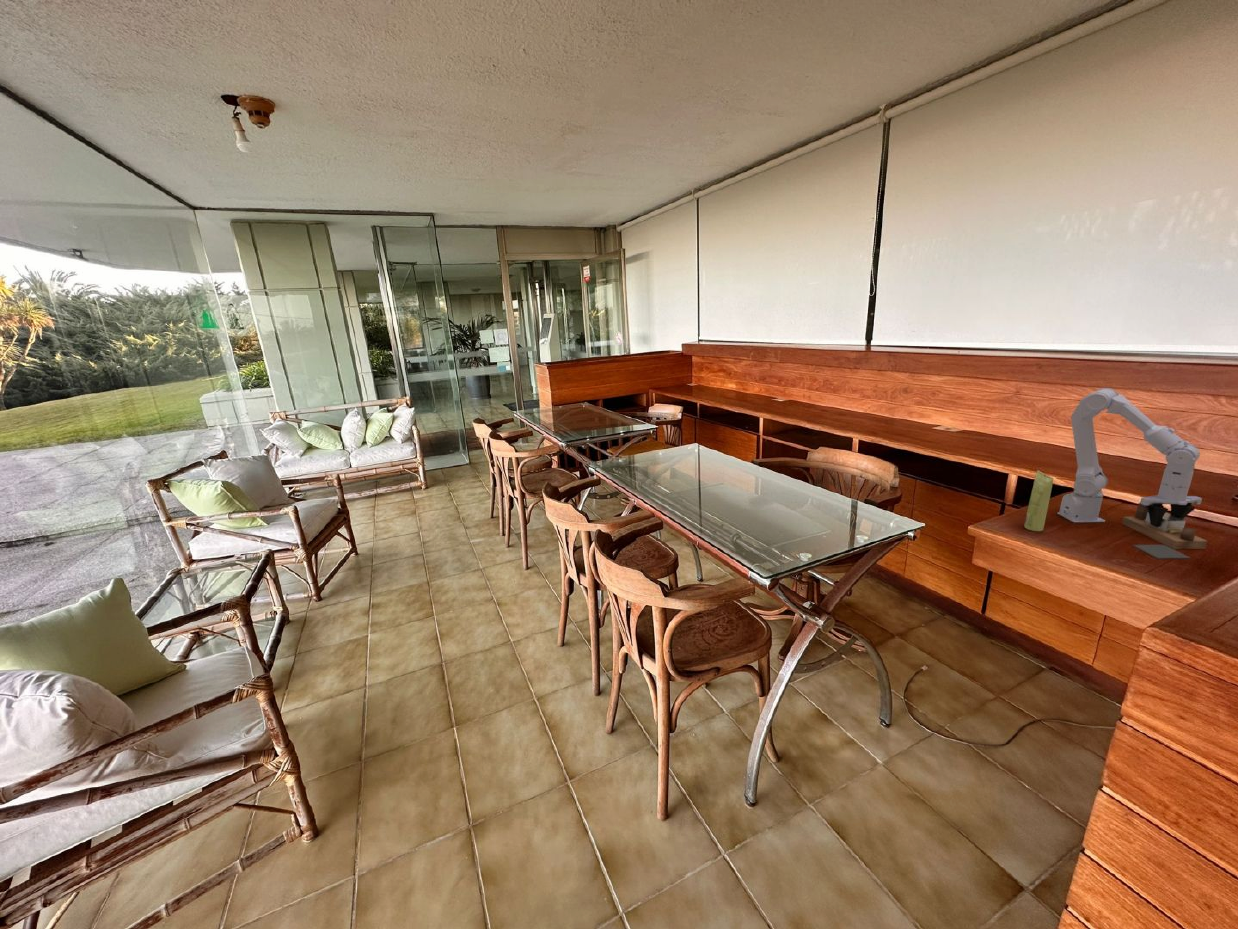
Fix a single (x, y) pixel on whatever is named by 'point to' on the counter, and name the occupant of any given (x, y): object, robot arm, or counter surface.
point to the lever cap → (1167, 523)
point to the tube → (1039, 502)
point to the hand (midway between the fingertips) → (1163, 525)
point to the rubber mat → (1161, 552)
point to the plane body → (1171, 539)
